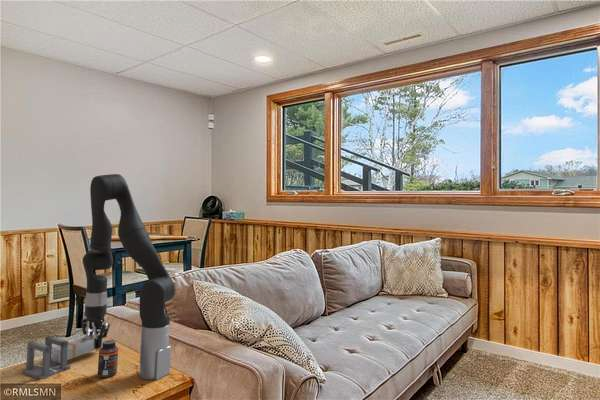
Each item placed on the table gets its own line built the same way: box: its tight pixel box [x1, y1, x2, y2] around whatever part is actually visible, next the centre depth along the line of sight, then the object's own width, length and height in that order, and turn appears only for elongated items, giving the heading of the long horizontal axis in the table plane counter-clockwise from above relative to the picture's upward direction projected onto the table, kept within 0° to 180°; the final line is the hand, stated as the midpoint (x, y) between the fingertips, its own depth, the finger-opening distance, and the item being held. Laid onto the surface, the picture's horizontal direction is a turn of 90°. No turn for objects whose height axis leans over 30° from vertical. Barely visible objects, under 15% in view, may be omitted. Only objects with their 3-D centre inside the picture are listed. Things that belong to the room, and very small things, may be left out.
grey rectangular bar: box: [51, 334, 103, 363], centre depth 142 cm, size 4×17×5 cm, turn 155°
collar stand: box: [21, 335, 71, 381], centre depth 131 cm, size 10×10×10 cm
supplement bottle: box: [97, 339, 119, 379], centre depth 130 cm, size 6×6×11 cm
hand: (94, 347), depth 147 cm, fingers closed on grey rectangular bar, 4 cm apart
